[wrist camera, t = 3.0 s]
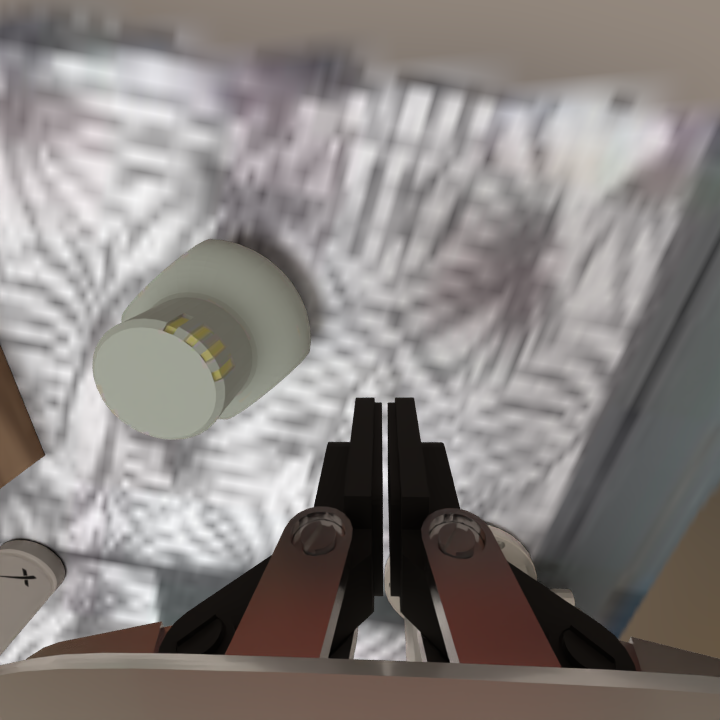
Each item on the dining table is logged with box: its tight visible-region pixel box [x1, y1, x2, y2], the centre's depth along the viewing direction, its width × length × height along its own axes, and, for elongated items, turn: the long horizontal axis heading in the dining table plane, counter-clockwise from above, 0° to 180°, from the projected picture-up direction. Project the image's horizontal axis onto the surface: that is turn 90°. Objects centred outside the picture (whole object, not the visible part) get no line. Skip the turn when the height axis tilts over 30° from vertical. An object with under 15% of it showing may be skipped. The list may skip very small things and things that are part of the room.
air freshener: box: [92, 239, 311, 440], centre depth 21 cm, size 11×8×10 cm
